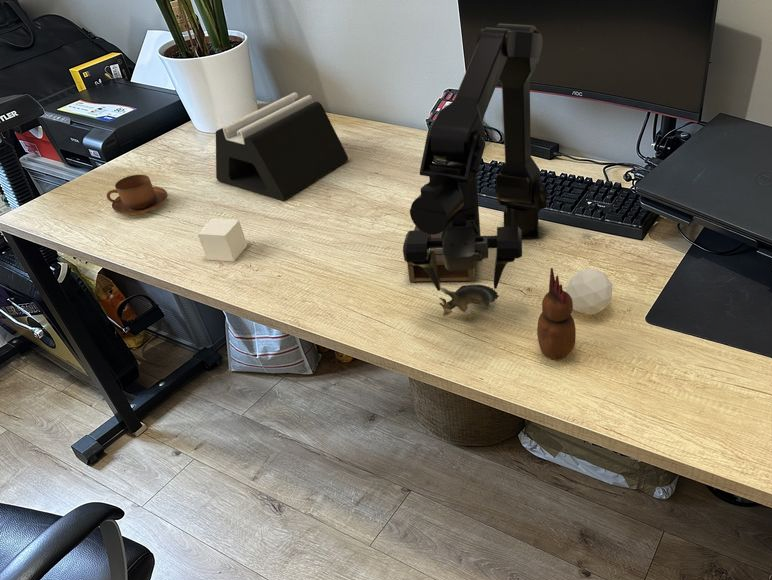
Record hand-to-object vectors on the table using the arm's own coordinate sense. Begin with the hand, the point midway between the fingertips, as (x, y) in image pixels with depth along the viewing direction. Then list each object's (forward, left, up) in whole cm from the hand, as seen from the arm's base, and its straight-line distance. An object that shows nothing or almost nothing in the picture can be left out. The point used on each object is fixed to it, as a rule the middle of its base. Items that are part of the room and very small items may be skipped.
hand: (467, 288), depth 109 cm
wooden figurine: (-14, +10, -6) cm, 18 cm away
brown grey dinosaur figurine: (+1, -1, -6) cm, 6 cm away
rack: (+6, -16, -6) cm, 18 cm away
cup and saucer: (+78, -41, -6) cm, 88 cm away
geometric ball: (-20, -1, -6) cm, 21 cm away
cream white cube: (+51, -21, -6) cm, 55 cm away
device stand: (+49, -57, -6) cm, 75 cm away
